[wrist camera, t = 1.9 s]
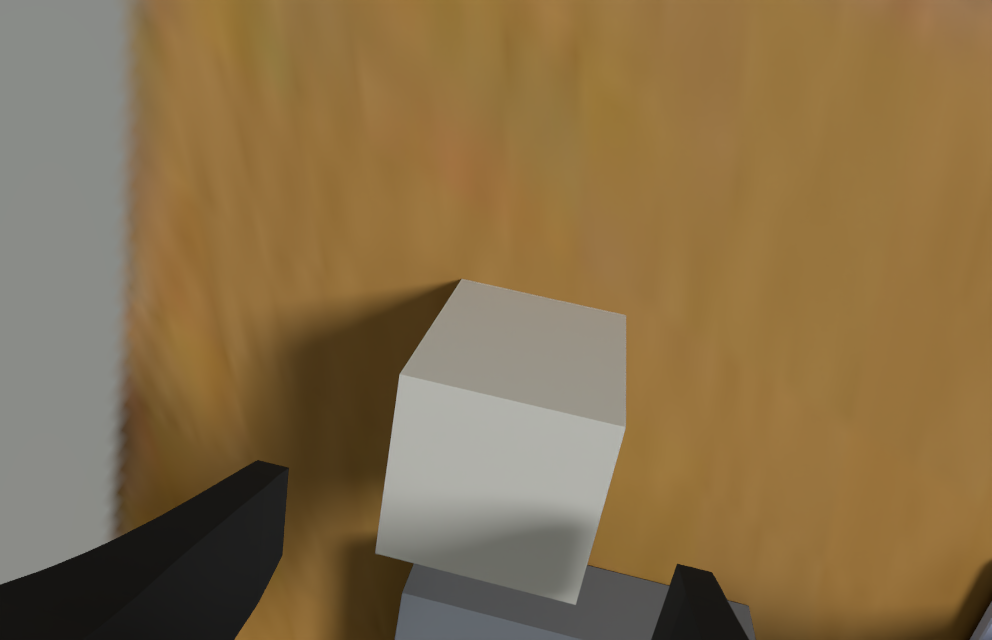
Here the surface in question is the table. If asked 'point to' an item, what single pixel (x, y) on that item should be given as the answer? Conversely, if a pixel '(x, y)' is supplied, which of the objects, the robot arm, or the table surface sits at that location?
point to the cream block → (506, 440)
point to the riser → (533, 609)
